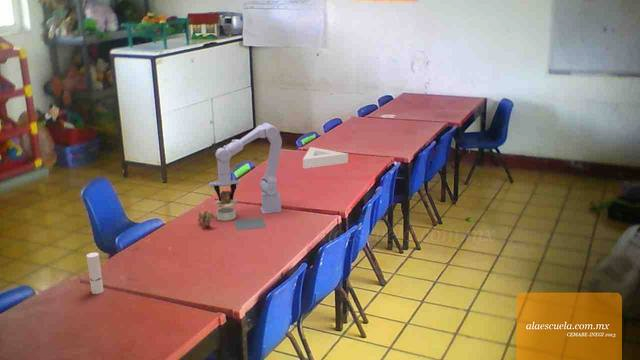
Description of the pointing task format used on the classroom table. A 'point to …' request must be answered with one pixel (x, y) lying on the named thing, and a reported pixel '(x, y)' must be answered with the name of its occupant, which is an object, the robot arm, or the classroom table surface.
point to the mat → (250, 223)
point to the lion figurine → (205, 218)
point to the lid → (226, 200)
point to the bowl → (225, 213)
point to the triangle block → (323, 158)
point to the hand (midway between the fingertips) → (225, 199)
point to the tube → (95, 273)
